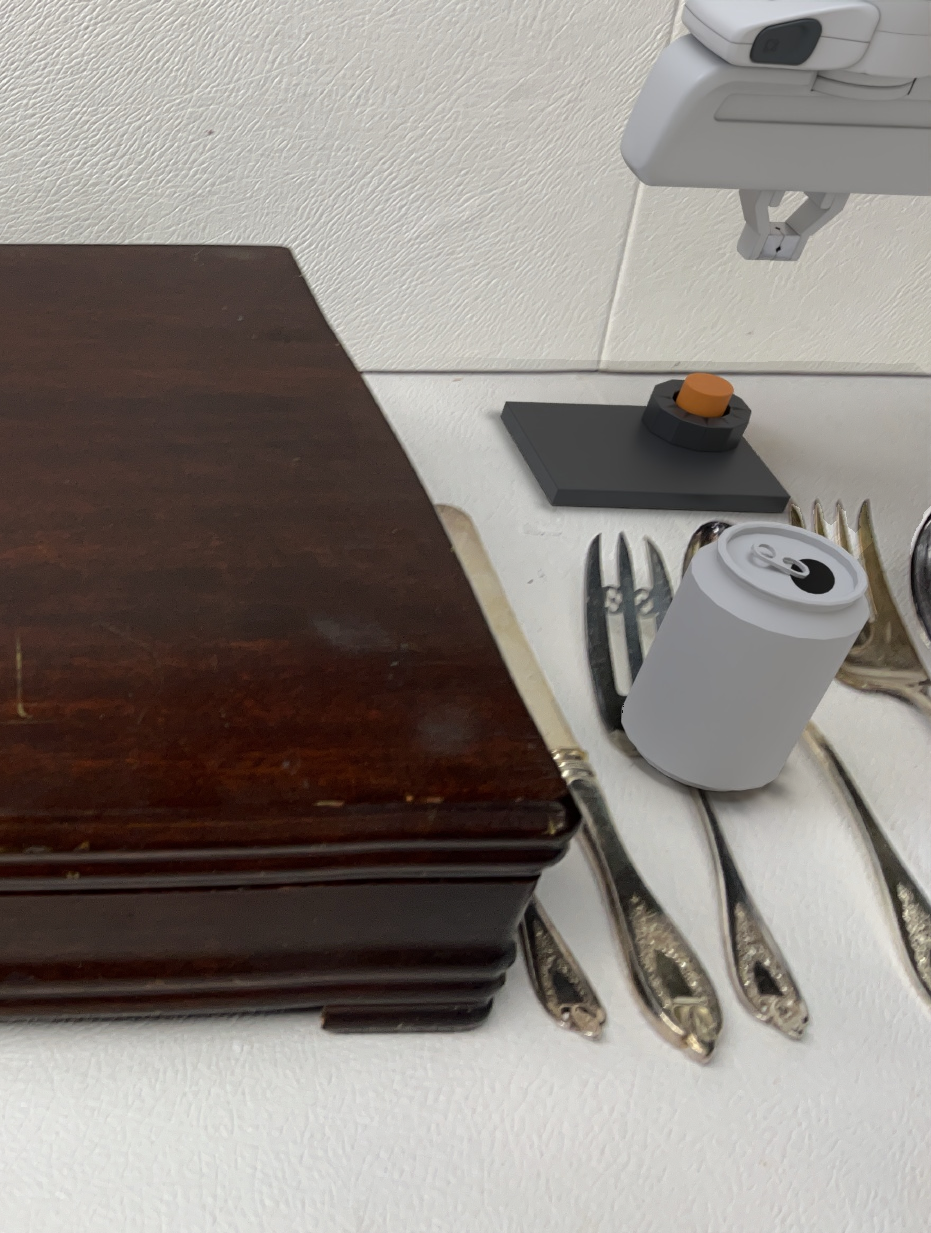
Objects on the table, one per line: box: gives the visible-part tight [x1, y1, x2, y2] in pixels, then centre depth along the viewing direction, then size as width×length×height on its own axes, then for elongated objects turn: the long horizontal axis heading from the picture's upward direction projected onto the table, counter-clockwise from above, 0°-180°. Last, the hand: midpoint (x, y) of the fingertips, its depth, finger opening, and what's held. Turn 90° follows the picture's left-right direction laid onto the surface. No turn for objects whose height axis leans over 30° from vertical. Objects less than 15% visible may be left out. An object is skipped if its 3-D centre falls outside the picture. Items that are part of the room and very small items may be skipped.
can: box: [620, 520, 870, 792], centre depth 75 cm, size 8×8×12 cm
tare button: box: [676, 372, 735, 418], centre depth 99 cm, size 3×3×2 cm
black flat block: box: [500, 379, 792, 513], centre depth 98 cm, size 14×10×3 cm
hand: (765, 256), depth 93 cm, fingers closed
